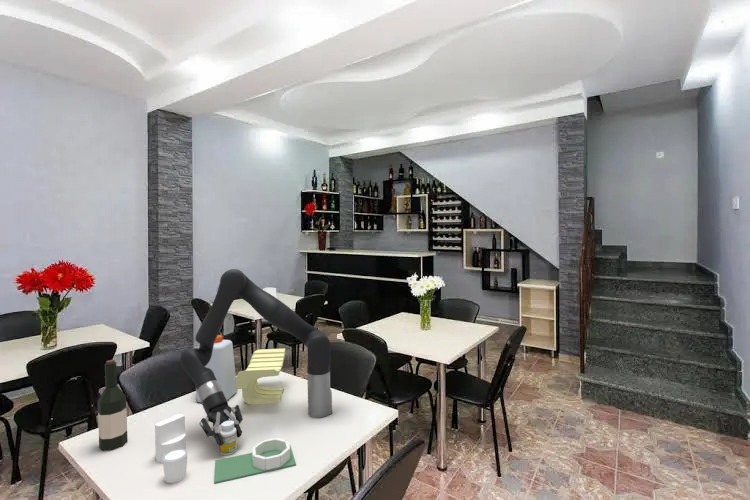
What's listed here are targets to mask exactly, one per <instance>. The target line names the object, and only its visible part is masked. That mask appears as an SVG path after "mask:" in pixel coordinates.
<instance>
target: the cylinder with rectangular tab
mask: <svg viewBox="0 0 750 500" xmlns="http://www.w3.org/2000/svg"><path fill="white" fill-rule="evenodd" d="M185 419H186V415H184V414H182V413H178V414H175V415H173V416H170V417H169V418H166V419H164V420H160V421H159V422H157V423H155V424H154V436H155V437H154V439H155V446H154V447H155V461H156V462H158V463H161V464H163V460H162V458H163V456H164V455H165V454H166V453H168V452H169V451H172V450H175V449H185V450H187V436H186V435H187V434H186V420H185Z"/></svg>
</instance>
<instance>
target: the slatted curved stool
mask: <svg viewBox="0 0 750 500" xmlns="http://www.w3.org/2000/svg"><path fill="white" fill-rule="evenodd" d="M285 356H286V348H270V349H268V348H267V349H266V348H264V349H256V350H255V351H253V353H252V354H251V358H250V360H249V363H248V366H247V368H246V369H245V370H241V371H239V372H238V373H237V375H236V389H237V390H241V392H242V394H241V395H242V396H241V397H242V399H243V401H244V402H245V403H246V404H248V405H264V404H267V405H268V404H279V403H280V401H281V398H282V396H283V393H284V387H265V386H261V385H260V384H258V380H259V379H261V378H268V377H277V376H279V375H280V373H281V371H282V368H283V367H284V364H283V363H284V362H285V361H284V360H285Z"/></svg>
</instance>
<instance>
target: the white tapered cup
mask: <svg viewBox="0 0 750 500" xmlns="http://www.w3.org/2000/svg"><path fill="white" fill-rule="evenodd" d="M162 460H163V463H162V467H163V474H164V480H165V482H166V483H168V484H173V483H174V484H175V483H178V482H180V481H182V480H184V479H185V478H186V476H187V466H188V465H187V464H188V450H187V449H186V450H185V449H175V450H172V451H169V452H168V453H166V454H165V455H164V456H163V458H162Z"/></svg>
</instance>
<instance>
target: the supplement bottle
mask: <svg viewBox="0 0 750 500" xmlns="http://www.w3.org/2000/svg"><path fill="white" fill-rule="evenodd" d="M219 433H220V435H221V437H222V439H223V442H224V443H223V445H222V446H219V453H220V455H223V456H229V455H233V454H235V452H237V450H238V440H237V439H238V438H237V431H236V428H235V427H234V421H231V420H229V421H225V422H223V423H222V424H221V429H220V430H219Z"/></svg>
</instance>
